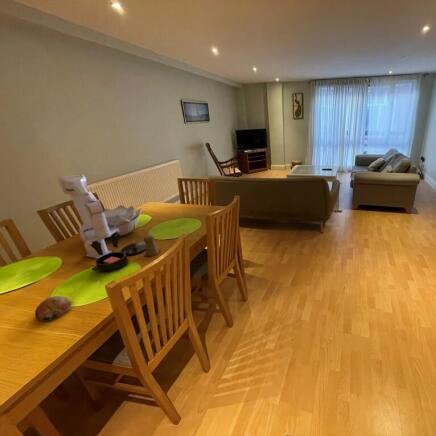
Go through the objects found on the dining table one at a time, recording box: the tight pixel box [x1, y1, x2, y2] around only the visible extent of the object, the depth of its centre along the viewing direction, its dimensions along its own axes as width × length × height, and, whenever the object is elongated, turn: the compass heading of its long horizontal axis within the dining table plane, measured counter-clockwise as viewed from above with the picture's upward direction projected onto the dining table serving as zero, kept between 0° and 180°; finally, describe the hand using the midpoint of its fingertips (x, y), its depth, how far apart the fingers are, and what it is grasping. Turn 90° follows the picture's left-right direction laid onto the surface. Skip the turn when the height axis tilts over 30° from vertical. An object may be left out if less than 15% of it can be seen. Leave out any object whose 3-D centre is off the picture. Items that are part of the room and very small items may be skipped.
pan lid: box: [120, 240, 146, 256], centre depth 137 cm, size 14×14×5 cm
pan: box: [91, 251, 129, 273], centre depth 122 cm, size 12×18×4 cm
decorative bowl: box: [90, 204, 142, 237], centre depth 154 cm, size 30×30×15 cm
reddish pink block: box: [103, 257, 120, 264], centre depth 122 cm, size 6×4×3 cm
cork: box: [143, 234, 160, 257], centre depth 132 cm, size 6×6×11 cm
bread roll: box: [34, 295, 72, 322], centre depth 92 cm, size 10×10×8 cm
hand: (108, 250), depth 120 cm, fingers open, 7 cm apart
